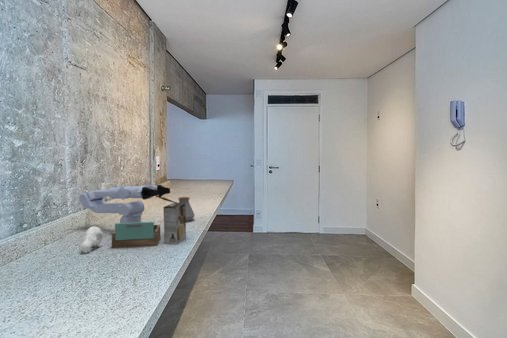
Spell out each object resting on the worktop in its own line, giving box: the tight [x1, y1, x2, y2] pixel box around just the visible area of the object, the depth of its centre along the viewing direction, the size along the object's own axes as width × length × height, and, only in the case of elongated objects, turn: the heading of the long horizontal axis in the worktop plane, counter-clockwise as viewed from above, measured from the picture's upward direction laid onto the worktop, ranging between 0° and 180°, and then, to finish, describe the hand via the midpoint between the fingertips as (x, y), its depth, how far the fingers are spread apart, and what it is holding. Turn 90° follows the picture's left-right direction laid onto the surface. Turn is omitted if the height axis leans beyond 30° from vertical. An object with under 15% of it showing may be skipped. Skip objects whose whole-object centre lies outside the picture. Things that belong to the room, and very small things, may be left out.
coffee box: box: [163, 202, 187, 245], centre depth 140 cm, size 9×6×16 cm
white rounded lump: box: [79, 225, 104, 254], centre depth 129 cm, size 6×8×12 cm
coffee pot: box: [154, 195, 195, 223], centre depth 177 cm, size 21×12×15 cm, turn 107°
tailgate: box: [114, 221, 155, 240], centre depth 132 cm, size 2×15×7 cm, turn 101°
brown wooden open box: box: [111, 224, 161, 249], centre depth 138 cm, size 12×18×6 cm, turn 100°
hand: (163, 191), depth 142 cm, fingers open, 7 cm apart
